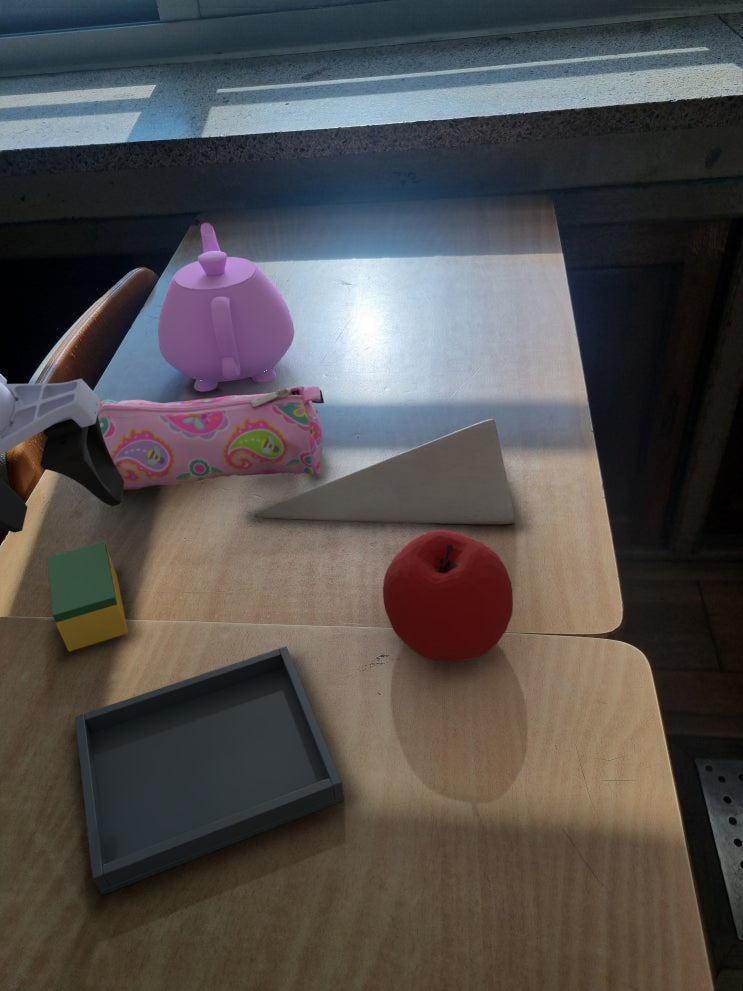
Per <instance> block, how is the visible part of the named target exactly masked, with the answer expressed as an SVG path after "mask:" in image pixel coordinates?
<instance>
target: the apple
mask: <svg viewBox="0 0 743 991" xmlns="http://www.w3.org/2000/svg"><path fill="white" fill-rule="evenodd" d="M382 599H383V600H382V601H383V606H384V610H385V613H386V615H387V618H388V620H389V622H390V626H391V628H392V630H393V631H394V633H395V634H396V636H397V637H398V638H399V640H400V641H401V642H402V643H404V644H405V645H406V646H407V647H408V648H409V649H411V650H412V651H414V652H415V653H417V654H418V655H420V656H422V657H423V658H426V659H429V660H432V661H439V662H450V663H451V662H452V663H454V662H456V663H457V662H464V661H467V660H471V659H472V660H473V659H475V658H477V657H481V656H483V655H485V654H486V653H488V652H489V651H490V650H491V649H492V648H494V647H495V646H496V645H497V644H498V642H499V641H500V640H501V638H502V637H503V635H504V634H505V633H506V631H507V629H508V626H509V624H510V621H511V619H512V615H513V610H514V608H513V607H514V592H513V585H512V581H511V578H510V575H509V572H508V569H507V567H506V565H505V564H504V562H503V561H502V558H501V557H500V555H498V554H497V552H496V551H495V550H494V549H492V548H491V547H489V546H488V545H486V544H485V543H483V542H482V541H480V540H477V539H475V538H473V537H471V536H468V535H465V534H462V533H459V532H455V531H451V530H446V529H437V530H431V531H427V532H425V533H423V534H420V535H418V536H417V537H416V538H414V539H412V540H411V541H410V542H408V543H406V545H404V546H403V547H402V549H401V550H400V551H399V552H398V554H396V555H395V557H394V558H393V559H392V561H391V562H390V564H389V565H388V567H387V569H386V572H385V574H384V577H383V583H382Z"/></svg>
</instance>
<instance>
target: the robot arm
mask: <svg viewBox="0 0 743 991" xmlns="http://www.w3.org/2000/svg"><path fill="white" fill-rule="evenodd" d="M7 382H8V380H7V379H6V377H4V376H3V375H2V374H1V373H0V456H2V455H4V454H5V453H7V452H9V451H10V450H12V449H14V448H15V447H17V446H19V445H21V444H23V443H24V442H26V441H28V440H29V439H31V438H32V437H34V436H36V435H38V434H41V433H42V434H44V436H45V437H47V439H46V440H45V441H44V442H45V443H44V446H43V451H42V456H41V460H40V464H39V465H40V467H41V468H42V469H43V470H46V471H51V472H54V473H57V474H59V475H63V476H65V477H67V478H69V479H70V480H73V481H75V482H76V483H78V484H79V485H81V486H82V487H84V488H85V489H86V490H87V491H89V492H90V493H91V494H92V495H93V496H95V497H96V498H97V499H98V500H99V501H100V502H102V503H104V504H106V505H107V506H110V507H115V506H120V504H122V500H123V494H124V490H123V488H124V480H123V478H122V476H121V475H120V473H119V471H118V469H117V468H116V466H115V464H114V462H113V460H112V458H111V456H110V454H109V451H108V449H107V446H106V444H105V441H104V438H103V435H102V431H101V428H100V423H99V419H98V410H99V403H100V402H101V398H100V397H99V396H98V395H97V394H96V393H95V392H94V390H93V389H91V387H90V386H89V385H88V384H87V382H85V381H84V379H83V378H78V379H74V380H70V381H64V382H57V383H56V382H55V383H7ZM27 512H28V505H27V504H26V503H25V501H24V500H23V499H22V497H20V495H19V494H17V492H15V491H14V490H13V489H12V488H11V487H10V486H9V485H8V484H6V482H4V481H3V480H2V479H1V478H0V529H2V530H5V531H8V532H11V533H14V534H16V533H19V532H22V531H23V530H24V529H23V528H24V524H25V520H26V515H27Z"/></svg>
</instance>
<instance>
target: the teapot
mask: <svg viewBox="0 0 743 991" xmlns="http://www.w3.org/2000/svg"><path fill="white" fill-rule="evenodd" d="M200 236H201V241H202V254H200V255H198V257H197V260H196V261H194V262H191V263H188V264H186V265H184V266H182V267H181V268H179V269H178V270H177V271H176V272H175V273H174V275H173V276H172V279H171V281H170V283H169V285H168V287H167V290H166V293H165V296H164V298H163V300H162V303H161V307H160V311H159V317H158V322H157V323H158V324H157V338H158V339H157V340H158V346H159V351H160V354H161V356H162V357H163V359H164V361H165V362H166V363H168V364H169V365H170V366H171V367H172V368H174V369H175V370H177V371H178V372H179V373H181V374H183V375H184V376H187V377H189V378H191V379H193V380H195V382H194V385H193V388H194V390H195V391H198V392H209V391H213V390H215V389H216V388H217V387H218V386H219V382H231V381H238V380H243V379H247V378H252V381H254V382H257V383H267V382H271V381H273V380H274V379H275V378H276V376H277V374H276V372H275V371H274V369H273V367H274V366H276V364H278V363H279V362H280V361H281V359H282V358H283V357H284V356H285V354H286V353H287V351H288V350H289V349H290V347H291V345H292V343H293V341H294V338H295V327H294V321H293V318H292V315H291V312H290V309H289V307H288V305H287V303H286V301H285V299H284V297H283V295H282V293H281V292H280V291H279V289H277V286H276V285H275V284H274V282H272V280H271V279H270V278H269V276H267V275H266V274H265V272H264V271H263V270H262V269H261V268H260V267H259V266H258V265H257V264H255V263H254V262H253V261H251V260H249V259H247V258H243V257H237V256H228V254H227V252H225V251H221V248H220V245H219V242H218V240H217V235H216V232H215V230H214V227H213V225H212V224H210V223H209V222H204V223H202V224H201V226H200ZM266 370H267V371H266ZM264 371H265V372H264ZM200 380H202V381H200Z"/></svg>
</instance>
